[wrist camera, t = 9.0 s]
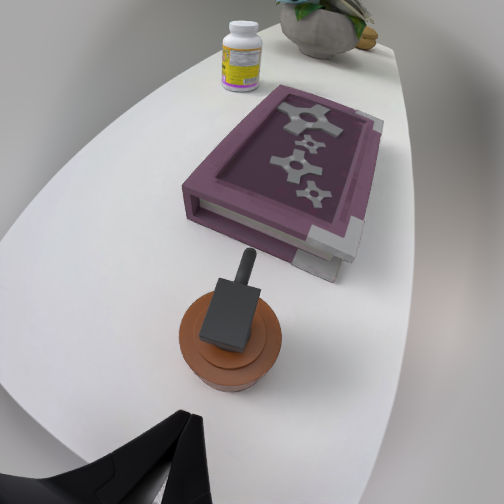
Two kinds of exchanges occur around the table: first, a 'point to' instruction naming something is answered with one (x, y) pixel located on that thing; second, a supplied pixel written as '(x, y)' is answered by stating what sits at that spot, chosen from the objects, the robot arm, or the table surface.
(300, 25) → the flower arrangement
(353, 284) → the table surface
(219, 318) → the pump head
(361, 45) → the pot
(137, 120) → the table surface
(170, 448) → the robot arm
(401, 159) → the table surface
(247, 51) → the supplement bottle
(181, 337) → the soap bottle
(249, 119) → the book
